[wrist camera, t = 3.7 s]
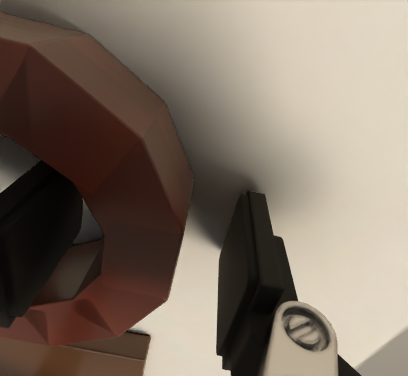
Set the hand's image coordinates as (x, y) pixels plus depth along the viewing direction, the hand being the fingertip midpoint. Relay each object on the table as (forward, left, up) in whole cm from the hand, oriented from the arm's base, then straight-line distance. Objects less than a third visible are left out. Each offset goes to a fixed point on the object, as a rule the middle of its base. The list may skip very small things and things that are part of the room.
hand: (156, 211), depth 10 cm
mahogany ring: (0, -4, 0) cm, 4 cm away
